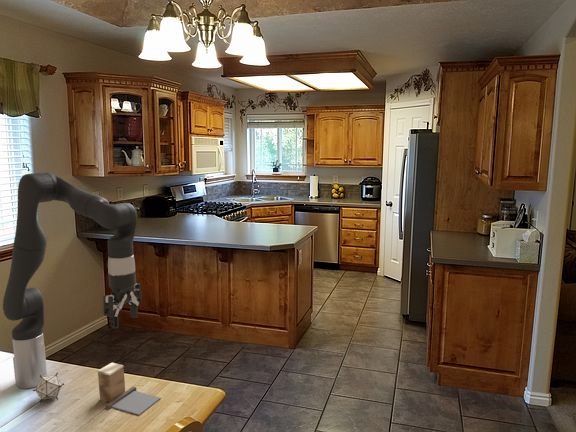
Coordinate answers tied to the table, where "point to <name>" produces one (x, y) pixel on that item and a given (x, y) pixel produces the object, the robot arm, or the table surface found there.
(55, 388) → the game die
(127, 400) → the slate-grey rubber mat
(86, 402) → the table surface
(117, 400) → the stop strip
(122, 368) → the walnut block
